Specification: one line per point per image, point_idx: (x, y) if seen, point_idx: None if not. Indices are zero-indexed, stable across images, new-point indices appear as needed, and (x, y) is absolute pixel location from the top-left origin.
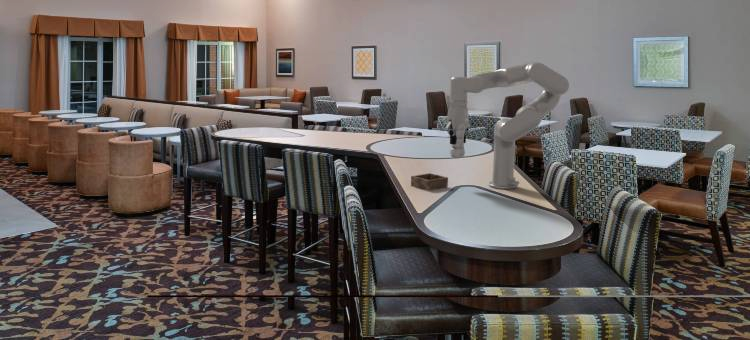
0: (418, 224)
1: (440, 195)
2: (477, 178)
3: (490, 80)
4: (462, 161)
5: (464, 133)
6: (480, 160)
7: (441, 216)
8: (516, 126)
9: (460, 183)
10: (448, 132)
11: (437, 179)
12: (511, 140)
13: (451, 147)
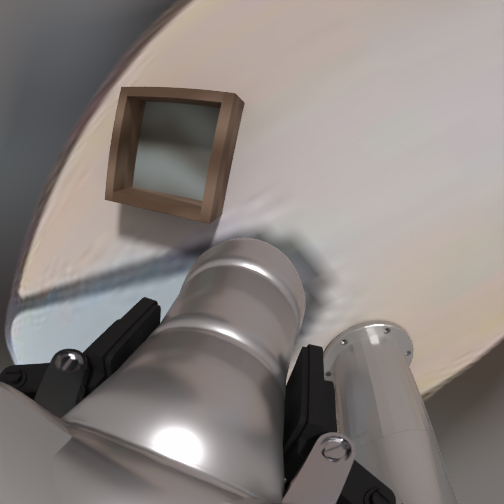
0: (6, 319)
1: (112, 261)
2: (447, 233)
3: None
4: None
5: (290, 473)
6: None
7: (37, 334)
8: None
9: (322, 221)
10: (20, 373)
11: (146, 208)
12: None
13: (185, 284)
